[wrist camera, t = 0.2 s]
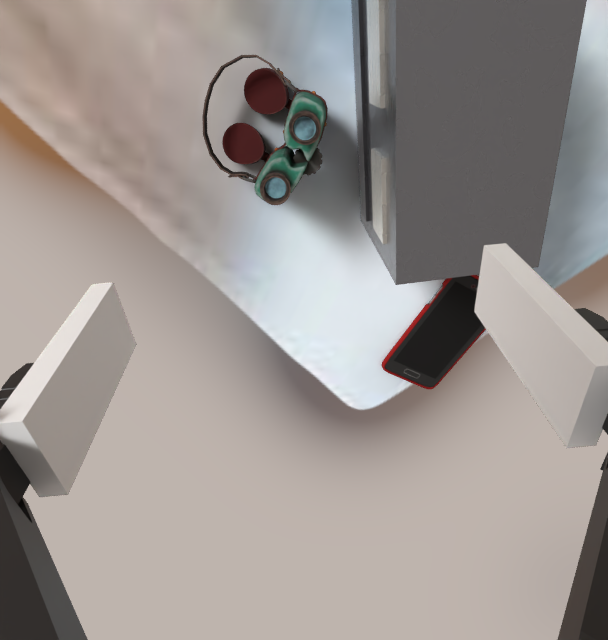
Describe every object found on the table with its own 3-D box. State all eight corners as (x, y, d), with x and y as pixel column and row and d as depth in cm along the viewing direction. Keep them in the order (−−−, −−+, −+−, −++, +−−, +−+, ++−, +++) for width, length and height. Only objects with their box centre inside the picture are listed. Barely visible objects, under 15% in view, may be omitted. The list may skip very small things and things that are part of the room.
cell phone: (377, 364, 53) (379, 369, 52) (455, 262, 46) (459, 266, 46) (429, 386, 55) (431, 392, 54) (510, 292, 49) (514, 297, 48)
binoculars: (208, 27, 26) (354, 114, 28) (236, 42, 36) (345, 106, 38) (159, 167, 30) (290, 235, 32) (196, 147, 39) (296, 201, 41)
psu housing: (346, -25, 33) (389, -70, 21) (483, -43, 33) (604, -98, 21) (357, 220, 43) (391, 285, 31) (463, 207, 43) (538, 266, 31)
